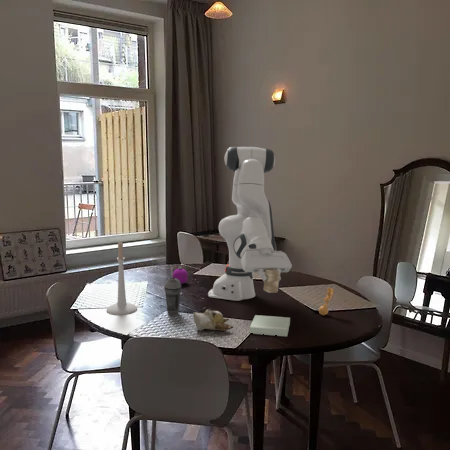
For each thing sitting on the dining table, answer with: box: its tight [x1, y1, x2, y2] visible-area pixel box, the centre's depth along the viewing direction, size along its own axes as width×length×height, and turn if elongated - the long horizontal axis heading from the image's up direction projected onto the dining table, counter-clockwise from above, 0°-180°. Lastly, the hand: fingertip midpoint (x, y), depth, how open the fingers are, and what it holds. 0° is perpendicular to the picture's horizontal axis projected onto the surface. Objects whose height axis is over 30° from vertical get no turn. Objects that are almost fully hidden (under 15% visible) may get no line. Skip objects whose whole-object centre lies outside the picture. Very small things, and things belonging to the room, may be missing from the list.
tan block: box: [262, 270, 281, 294], centre depth 183 cm, size 4×4×8 cm
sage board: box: [249, 314, 291, 337], centre depth 188 cm, size 14×14×3 cm
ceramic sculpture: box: [192, 307, 234, 332], centre depth 186 cm, size 11×9×15 cm
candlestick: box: [106, 241, 138, 316], centre depth 206 cm, size 13×13×30 cm
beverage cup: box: [164, 266, 182, 317], centre depth 202 cm, size 7×7×20 cm
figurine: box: [318, 286, 335, 316], centre depth 203 cm, size 8×6×12 cm
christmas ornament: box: [173, 264, 189, 285], centre depth 250 cm, size 8×8×10 cm
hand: (272, 280), depth 183 cm, fingers closed on tan block, 4 cm apart
